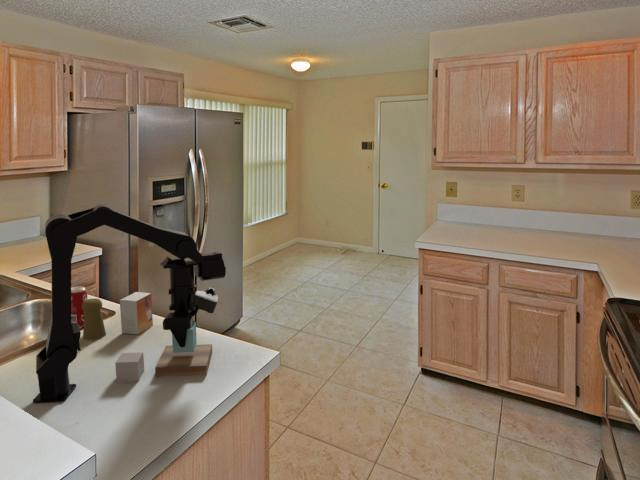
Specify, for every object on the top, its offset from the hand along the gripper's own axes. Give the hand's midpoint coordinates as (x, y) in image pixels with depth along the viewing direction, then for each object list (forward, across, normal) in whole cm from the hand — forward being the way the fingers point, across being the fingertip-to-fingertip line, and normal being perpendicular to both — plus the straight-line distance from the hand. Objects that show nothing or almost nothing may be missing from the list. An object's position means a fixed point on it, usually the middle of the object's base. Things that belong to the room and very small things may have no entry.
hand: (184, 342), depth 111 cm
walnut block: (+6, 0, 0) cm, 7 cm away
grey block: (+6, -5, +12) cm, 14 cm away
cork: (+6, +20, +29) cm, 36 cm away
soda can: (+6, +28, +36) cm, 46 cm away
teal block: (+2, 0, 0) cm, 2 cm away
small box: (+6, +24, +18) cm, 31 cm away
